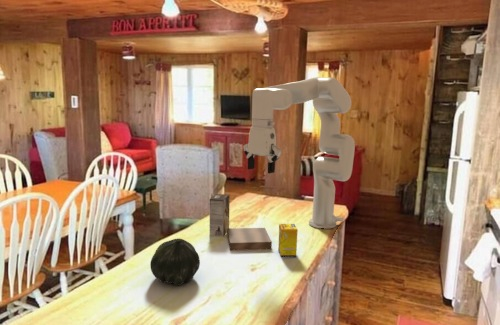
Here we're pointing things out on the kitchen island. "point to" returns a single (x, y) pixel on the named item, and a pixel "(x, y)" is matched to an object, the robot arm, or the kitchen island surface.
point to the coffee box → (219, 215)
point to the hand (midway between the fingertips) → (260, 170)
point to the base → (248, 239)
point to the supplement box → (287, 240)
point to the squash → (175, 262)
